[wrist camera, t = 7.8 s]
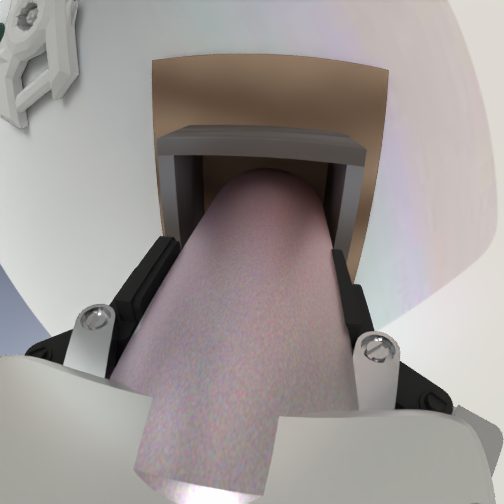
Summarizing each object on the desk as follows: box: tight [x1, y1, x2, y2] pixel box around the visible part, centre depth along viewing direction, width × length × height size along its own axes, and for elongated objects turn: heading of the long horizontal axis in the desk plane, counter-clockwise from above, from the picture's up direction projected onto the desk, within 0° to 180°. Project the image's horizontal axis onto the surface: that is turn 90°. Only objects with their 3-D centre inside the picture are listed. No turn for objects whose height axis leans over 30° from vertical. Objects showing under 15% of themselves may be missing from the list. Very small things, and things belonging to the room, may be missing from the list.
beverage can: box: [109, 168, 359, 504], centre depth 10 cm, size 6×6×15 cm
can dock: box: [152, 54, 389, 284], centre depth 17 cm, size 18×14×6 cm
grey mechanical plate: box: [0, 0, 79, 129], centre depth 12 cm, size 18×3×10 cm
